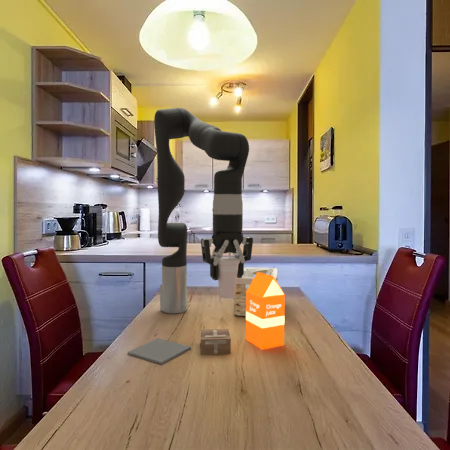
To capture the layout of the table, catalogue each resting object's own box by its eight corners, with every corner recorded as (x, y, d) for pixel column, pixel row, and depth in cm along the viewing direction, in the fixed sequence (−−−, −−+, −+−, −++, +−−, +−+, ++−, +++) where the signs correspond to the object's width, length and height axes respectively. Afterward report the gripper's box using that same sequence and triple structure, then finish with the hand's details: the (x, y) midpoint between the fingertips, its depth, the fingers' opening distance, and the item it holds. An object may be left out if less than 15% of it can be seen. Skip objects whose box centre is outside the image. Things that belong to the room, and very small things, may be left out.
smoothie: (237, 300, 89) (238, 243, 88) (212, 298, 90) (212, 242, 89) (241, 294, 95) (241, 240, 94) (217, 292, 96) (217, 240, 95)
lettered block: (200, 343, 105) (200, 328, 105) (228, 342, 105) (228, 328, 105) (200, 354, 97) (200, 338, 97) (230, 353, 97) (230, 338, 97)
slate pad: (127, 354, 96) (127, 351, 96) (158, 340, 107) (158, 338, 107) (161, 364, 90) (161, 362, 90) (191, 348, 100) (191, 346, 100)
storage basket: (239, 300, 153) (239, 265, 153) (278, 302, 150) (278, 267, 150) (230, 317, 130) (230, 276, 129) (276, 320, 127) (277, 278, 126)
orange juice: (261, 350, 100) (262, 277, 99) (245, 339, 108) (245, 272, 107) (284, 345, 103) (285, 275, 102) (267, 335, 111) (267, 270, 110)
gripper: (207, 213, 85) (207, 284, 86) (259, 212, 91) (259, 278, 92) (195, 212, 91) (195, 278, 92) (245, 212, 98) (244, 273, 99)
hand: (227, 278), depth 92 cm, fingers closed on smoothie, 6 cm apart
